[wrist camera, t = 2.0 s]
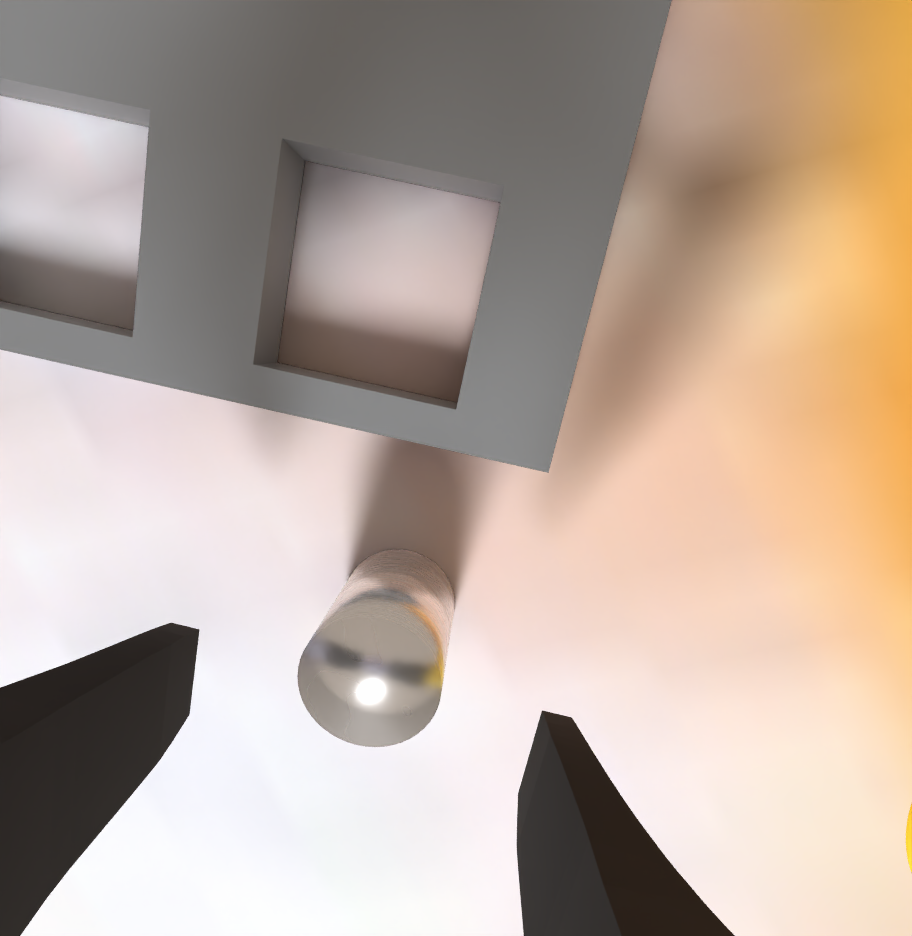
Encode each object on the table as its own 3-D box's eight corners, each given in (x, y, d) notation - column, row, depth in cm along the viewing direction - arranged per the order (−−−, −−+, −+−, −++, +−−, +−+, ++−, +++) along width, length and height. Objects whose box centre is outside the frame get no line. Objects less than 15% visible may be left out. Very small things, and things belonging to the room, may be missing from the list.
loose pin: (337, 637, 16) (288, 728, 12) (355, 538, 16) (309, 602, 12) (442, 661, 16) (425, 761, 12) (465, 563, 16) (455, 636, 12)
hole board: (-98, 316, 15) (-161, 313, 14) (-112, -459, 11) (-201, -577, 10) (543, 460, 15) (548, 472, 13) (737, -295, 11) (773, -393, 10)
